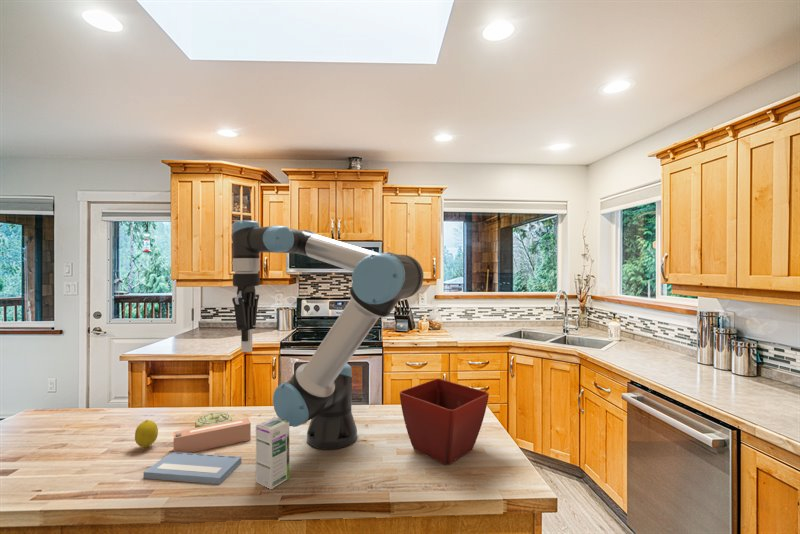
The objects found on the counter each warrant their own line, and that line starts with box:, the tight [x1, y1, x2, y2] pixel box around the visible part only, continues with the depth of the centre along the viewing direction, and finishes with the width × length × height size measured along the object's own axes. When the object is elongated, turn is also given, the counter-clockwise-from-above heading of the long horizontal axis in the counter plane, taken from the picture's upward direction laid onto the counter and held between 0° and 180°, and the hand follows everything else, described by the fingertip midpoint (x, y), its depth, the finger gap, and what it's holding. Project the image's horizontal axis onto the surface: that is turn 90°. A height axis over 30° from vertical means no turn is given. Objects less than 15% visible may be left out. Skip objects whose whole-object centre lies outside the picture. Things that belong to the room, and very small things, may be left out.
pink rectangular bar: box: [172, 417, 252, 453], centre depth 111 cm, size 20×4×5 cm, turn 121°
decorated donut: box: [194, 411, 233, 428], centre depth 122 cm, size 10×11×4 cm
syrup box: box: [255, 416, 290, 490], centre depth 93 cm, size 6×6×14 cm
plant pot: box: [399, 378, 490, 466], centre depth 109 cm, size 19×19×17 cm
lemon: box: [134, 419, 159, 449], centre depth 108 cm, size 6×6×8 cm
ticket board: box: [143, 451, 242, 485], centre depth 97 cm, size 20×10×2 cm, turn 84°
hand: (246, 351), depth 113 cm, fingers closed
